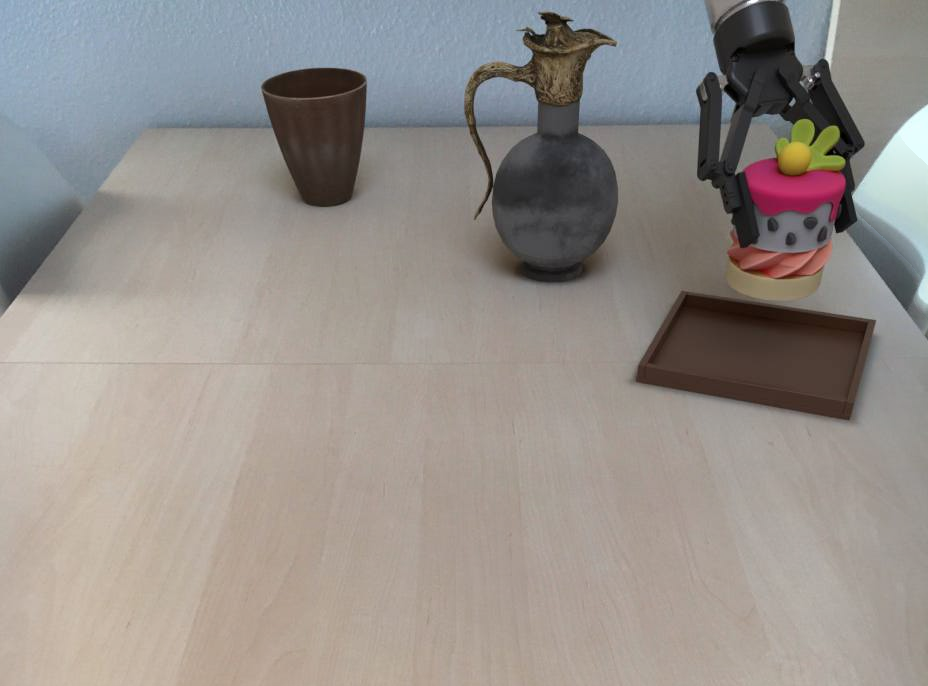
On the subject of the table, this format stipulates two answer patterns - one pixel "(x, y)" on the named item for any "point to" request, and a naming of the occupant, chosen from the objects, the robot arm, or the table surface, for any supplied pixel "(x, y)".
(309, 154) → the flower pot
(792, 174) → the cake
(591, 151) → the pitcher
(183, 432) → the table surface
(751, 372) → the tray
